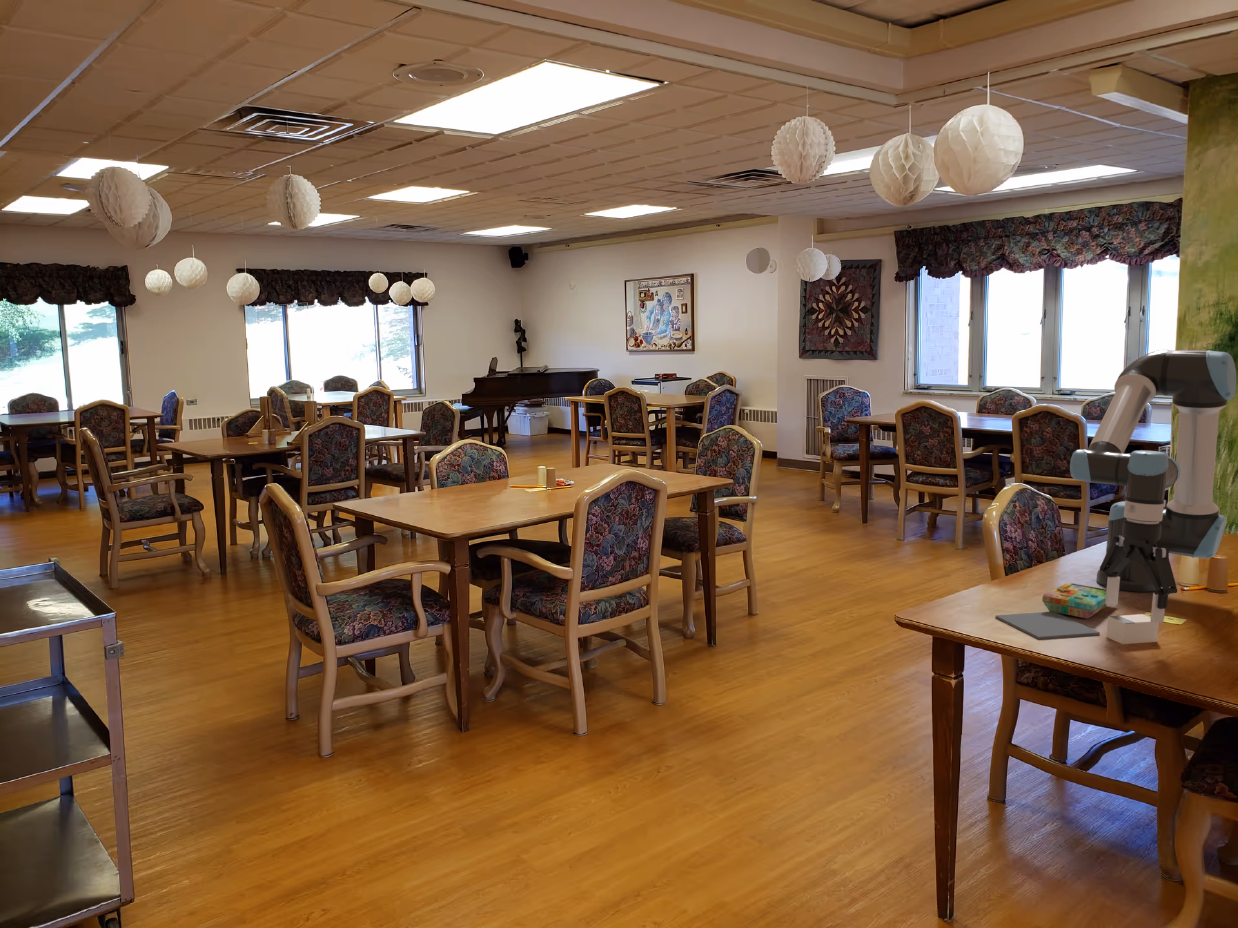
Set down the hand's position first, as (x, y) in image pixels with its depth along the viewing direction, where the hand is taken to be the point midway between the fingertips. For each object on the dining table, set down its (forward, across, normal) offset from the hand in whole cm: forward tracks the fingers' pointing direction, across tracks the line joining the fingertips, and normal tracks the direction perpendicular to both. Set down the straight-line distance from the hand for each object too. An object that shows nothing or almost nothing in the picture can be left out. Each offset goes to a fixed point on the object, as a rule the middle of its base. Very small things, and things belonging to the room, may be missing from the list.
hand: (1133, 613), depth 211 cm
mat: (+6, -12, -13) cm, 19 cm away
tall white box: (+6, 0, 0) cm, 6 cm away
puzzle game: (+6, -22, +4) cm, 23 cm away
